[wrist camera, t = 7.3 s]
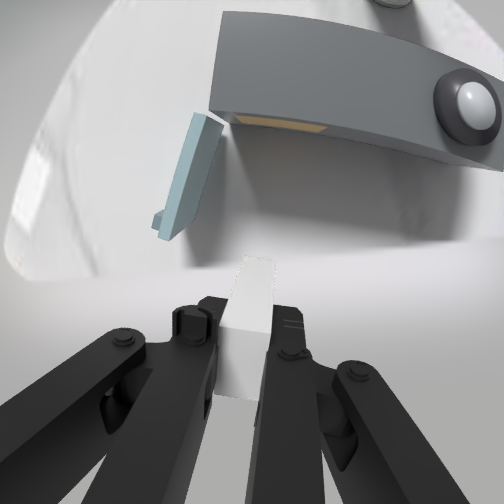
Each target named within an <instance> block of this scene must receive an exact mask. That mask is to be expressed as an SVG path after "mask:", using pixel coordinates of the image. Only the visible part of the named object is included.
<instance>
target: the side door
mask: <svg viewBox="0 0 504 504" xmlns="http://www.w3.org/2000/svg"><path fill="white" fill-rule="evenodd" d="M223 128H224V125H223V124H221V123H219V122H217V121H216V120H214V119H212V118H210V117H208V116H206V115H202V114H199V113H195V112H194V114H193V117H192V120H191V123H190V126H189V129H188V132H187V135H186V138H185V141H184V144H183V148H182V151H181V154H180V157H179V161H178V164H177V167H176V171H175V174H174V177H173V181H172V184H171V188H170V191H169V195H168V199H167V202H166V206H165V209H164V210H162V211H160V212H158V213H156V214H155V215H154V219H153V223H152V227H151V228H153V229H155V230H158V231H159V233H158V238H161V239H163V240H166V241H170V240H171V239H172V238H174V237H175V236H176V235H177V234H178V233H179V232H181V231H182V230H183V229H184V228H185V227H187V226H188V225H189V224H190V223H191V222H193V221H194V219H195V215H196V212H197V209H198V205H199V202H200V199H201V195H202V192H203V189H204V186H205V183H206V179H207V176H208V173H209V170H210V167H211V164H212V161H213V158H214V155H215V152H216V149H217V146H218V143H219V140H220V137H221V134H222V131H223Z"/></svg>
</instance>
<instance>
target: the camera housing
mask: <svg viewBox="0 0 504 504" xmlns="http://www.w3.org/2000/svg"><path fill="white" fill-rule="evenodd" d="M209 111H211V112H212V113H214V114H215V115H217V116H218V117H220V118H222V119H223V120H225V121H226V122H228V123H229V124H240V125H250V126H260V127H269V128H277V129H285V130H292V131H299V132H306V133H312V134H319V135H325V136H331V137H336V138H342V139H347V140H352V141H357V142H362V143H367V144H372V145H376V146H381V147H385V148H390V149H394V150H398V151H402V152H406V153H410V154H414V155H418V156H422V157H425V158H429V159H433V160H436V161H440V162H443V163H446V164H451V165H459V166H467V167H474V168H481V169H487V170H494V171H500V172H503V170H504V82H502V81H501V80H499V79H497V78H495V77H493V76H491V75H489V74H487V73H485V72H483V71H481V70H479V69H477V68H475V67H472V66H470V65H468V64H466V63H463V62H461V61H459V60H457V59H454V58H452V57H449V56H447V55H444V54H442V53H439V52H437V51H434V50H431V49H429V48H426V47H423V46H420V45H417V44H414V43H411V42H408V41H405V40H402V39H399V38H396V37H392V36H389V35H385V34H382V33H378V32H374V31H370V30H366V29H362V28H358V27H354V26H349V25H344V24H340V23H334V22H329V21H324V20H318V19H311V18H305V17H297V16H289V15H280V14H270V13H257V12H237V11H223V14H222V20H221V26H220V32H219V38H218V45H217V51H216V58H215V65H214V72H213V79H212V87H211V94H210V102H209Z"/></svg>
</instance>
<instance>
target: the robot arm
mask: <svg viewBox="0 0 504 504" xmlns="http://www.w3.org/2000/svg"><path fill="white" fill-rule="evenodd" d="M275 266H276V260H271V259H264V258H256V257H249V256H244V258H243V261H242V264H241V266H240V269H239V272H238V275H237V277H236V280H235V283H234V286H233V288H232V291H231V294H230V297H229V299H224V298H218V297H211V296H207V297H205V298H204V299H202V300H200V301H199V303H198V305H188V306H182V307H179V308H176V309H175V310H174V311H173V312H172V320H173V321H172V327H173V328H172V338H171V340H170V341H168V342H163V343H146V342H145V337H144V335H143V334H142V333H141V332H139V331H138V330H135V329H131V328H118V329H113V330H111V331H109V332H107V333H106V334H104V335H103V336H101V337H100V338H98V339H97V340H95V341H94V342H93V343H91V344H89V345H88V346H86V347H85V348H83V349H82V350H81V351H79V352H78V353H76V354H75V355H73V356H72V357H70V358H69V359H67V360H66V361H64V362H63V363H62V364H60V365H59V366H57V367H56V368H54V369H53V370H51V371H50V372H49V373H47V374H46V375H44V376H43V377H41V378H40V379H38V380H37V381H35V382H34V383H33V384H31V385H30V386H28V387H27V388H25V389H24V390H23V391H21V392H20V393H18V394H17V395H15V396H14V397H12V398H11V399H10V400H8V401H7V402H5V403H4V404H3V405H1V406H0V504H58V503H59V502H60V501H61V500H62V499H63V498H64V497H65V496H66V495H67V494H68V493H69V492H70V491H71V490H72V489H73V488H74V487H75V486H76V485H77V484H78V483H79V482H80V480H81V479H83V477H85V476H86V475H87V474H88V472H89V471H90V470H91V469H92V468H93V467H94V466H95V465H96V464H97V463H98V462H99V461H100V460H101V459H102V458H103V457H104V456H105V455H106V454H107V455H106V457H105V459H104V461H103V462H102V465H101V467H100V468H99V470H98V472H97V474H96V476H95V478H94V480H93V481H92V483H91V485H90V487H89V489H88V491H87V493H86V495H85V497H84V499H83V501H82V503H81V504H184V502H185V499H186V495H187V492H188V488H189V485H190V481H191V477H192V473H193V470H194V467H195V463H196V459H197V456H198V452H199V449H200V445H201V442H202V438H203V434H204V431H205V427H206V423H207V420H208V416H209V413H210V409H211V406H212V393H213V390H214V394H216V395H222V396H228V397H234V398H242V399H248V400H255V401H259V402H258V407H257V413H256V418H255V423H254V427H255V430H254V438H253V446H252V453H251V461H250V469H249V476H248V484H247V491H246V498H245V504H325V494H324V478H323V464H322V451H323V454H324V457H325V459H326V462H327V464H328V467H329V469H330V472H331V474H332V477H333V479H334V481H335V484H336V487H337V489H338V492H339V494H340V496H341V499H342V501H343V504H470V503H469V502H468V500H467V499H466V497H465V496H464V494H463V493H462V491H461V489H460V488H459V486H458V485H457V483H456V482H455V481H454V479H453V478H452V476H451V475H450V473H449V472H448V470H447V469H446V467H445V466H444V464H443V463H442V462H441V460H440V458H439V457H438V456H437V454H436V453H435V451H434V450H433V448H432V447H431V445H430V444H429V443H428V441H427V440H426V438H425V437H424V435H423V434H422V432H421V431H420V430H419V428H418V427H417V426H416V424H415V423H414V421H413V420H412V418H411V417H410V415H409V414H408V413H407V411H406V410H405V409H404V407H403V406H402V404H401V403H400V401H399V400H398V399H397V397H396V396H395V394H394V393H393V392H392V391H391V389H390V388H389V386H388V385H387V383H386V382H385V381H384V379H383V378H382V377H381V375H380V374H379V373H378V371H377V370H376V369H374V367H373V366H371V365H369V364H367V363H365V362H361V361H354V360H349V361H345V362H342V363H341V364H339V365H338V367H337V370H336V369H332V368H329V367H325V366H323V365H320V364H318V363H317V362H315V361H314V360H313V359H312V355H311V353H310V351H309V350H308V349H307V348H306V340H305V331H304V323H303V314H302V313H301V312H300V311H299V310H298V308H295V307H288V306H281V305H273V297H274V282H275ZM321 449H322V451H321Z"/></svg>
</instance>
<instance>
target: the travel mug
mask: <svg viewBox="0 0 504 504" xmlns="http://www.w3.org/2000/svg"><path fill="white" fill-rule="evenodd" d="M374 1H375V2H377V3H379V4H381V5H383V6H386V7H390V8H401V7H404V6H406V5H407V4H408V3H409V2H410V1H411V0H374Z"/></svg>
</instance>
